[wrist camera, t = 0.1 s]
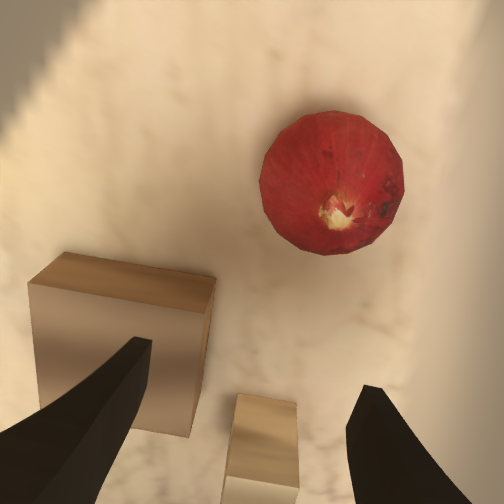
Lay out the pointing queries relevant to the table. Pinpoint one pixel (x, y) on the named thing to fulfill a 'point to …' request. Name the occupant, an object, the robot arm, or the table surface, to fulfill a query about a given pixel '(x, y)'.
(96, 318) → the walnut block
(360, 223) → the onion
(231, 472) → the maple block
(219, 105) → the table surface
